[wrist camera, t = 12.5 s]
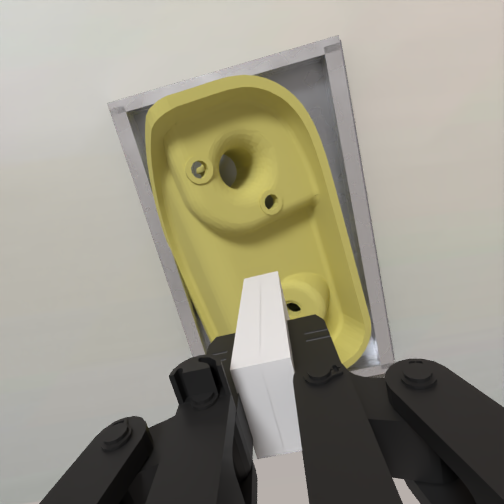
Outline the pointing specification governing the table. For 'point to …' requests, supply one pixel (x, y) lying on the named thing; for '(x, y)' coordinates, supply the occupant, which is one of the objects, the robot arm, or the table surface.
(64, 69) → the table surface
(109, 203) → the table surface
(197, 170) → the plastic component
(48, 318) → the table surface
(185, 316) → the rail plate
